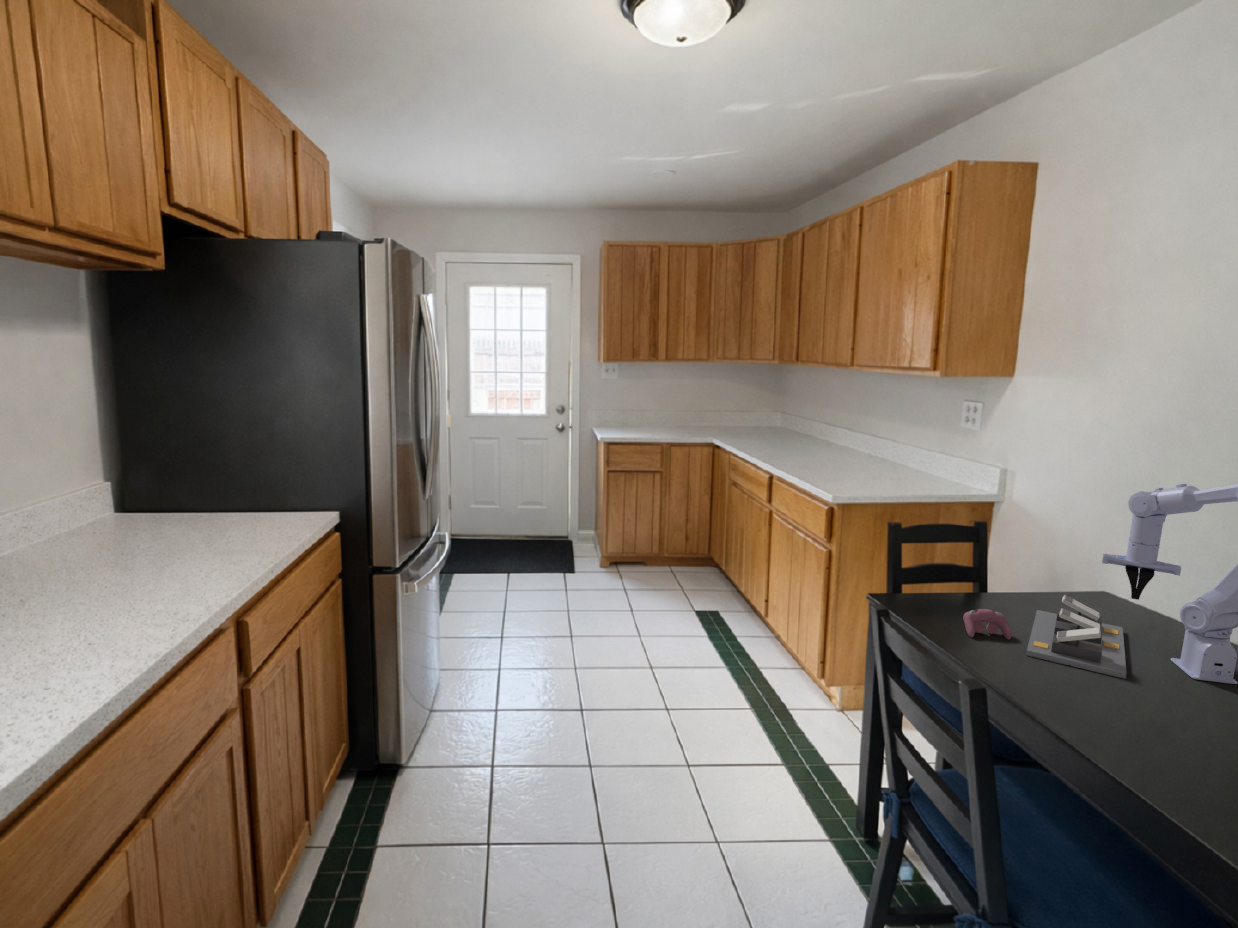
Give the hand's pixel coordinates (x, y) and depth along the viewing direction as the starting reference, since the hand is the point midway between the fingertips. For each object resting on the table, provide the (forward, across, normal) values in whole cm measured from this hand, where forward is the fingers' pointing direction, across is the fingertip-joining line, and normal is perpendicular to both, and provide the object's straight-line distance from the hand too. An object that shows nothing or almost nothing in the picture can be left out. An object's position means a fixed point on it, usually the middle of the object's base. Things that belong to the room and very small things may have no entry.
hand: (1135, 598), depth 161 cm
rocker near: (+5, +10, +20) cm, 23 cm away
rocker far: (+5, +10, 0) cm, 11 cm away
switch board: (+10, +10, +10) cm, 18 cm away
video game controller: (+11, +28, +18) cm, 35 cm away
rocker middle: (+5, +10, +10) cm, 15 cm away
